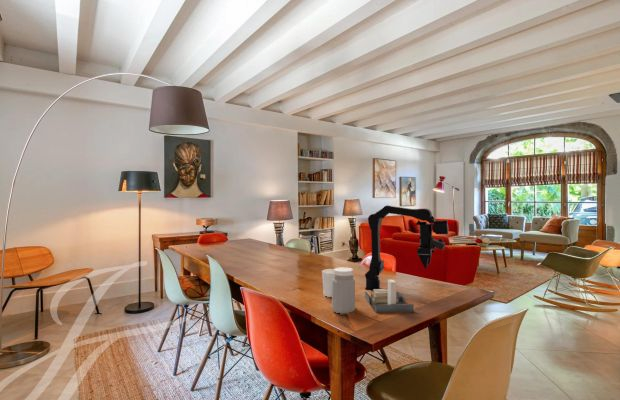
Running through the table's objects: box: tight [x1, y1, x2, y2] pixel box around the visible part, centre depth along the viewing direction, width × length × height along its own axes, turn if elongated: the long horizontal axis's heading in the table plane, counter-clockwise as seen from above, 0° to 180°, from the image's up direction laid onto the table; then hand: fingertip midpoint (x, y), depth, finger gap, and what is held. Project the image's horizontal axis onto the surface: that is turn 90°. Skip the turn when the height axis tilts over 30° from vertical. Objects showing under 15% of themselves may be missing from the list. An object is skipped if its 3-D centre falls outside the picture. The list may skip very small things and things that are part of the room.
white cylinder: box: [321, 268, 335, 298], centre depth 162 cm, size 10×10×12 cm
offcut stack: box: [370, 288, 398, 303], centre depth 151 cm, size 7×11×4 cm, turn 93°
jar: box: [331, 266, 356, 315], centre depth 140 cm, size 10×10×18 cm
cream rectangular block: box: [387, 279, 397, 304], centre depth 140 cm, size 4×2×12 cm, turn 3°
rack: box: [364, 291, 415, 314], centre depth 146 cm, size 20×16×4 cm
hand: (427, 266), depth 161 cm, fingers open, 9 cm apart
